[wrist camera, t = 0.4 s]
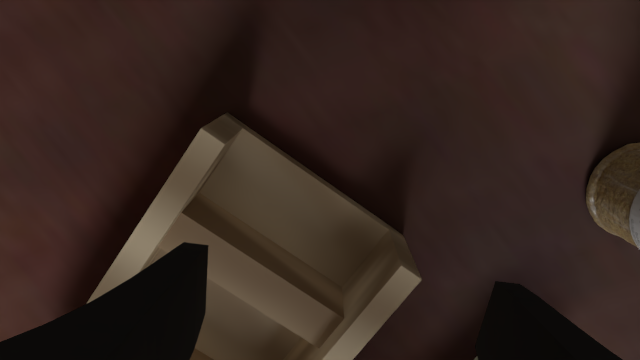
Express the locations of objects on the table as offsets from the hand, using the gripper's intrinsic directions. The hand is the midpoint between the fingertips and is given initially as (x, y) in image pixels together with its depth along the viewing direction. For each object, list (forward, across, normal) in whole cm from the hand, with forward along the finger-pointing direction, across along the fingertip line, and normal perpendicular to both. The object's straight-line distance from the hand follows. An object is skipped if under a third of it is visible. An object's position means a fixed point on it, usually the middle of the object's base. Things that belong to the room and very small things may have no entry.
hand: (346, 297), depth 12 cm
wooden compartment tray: (+10, +5, +8) cm, 13 cm away
